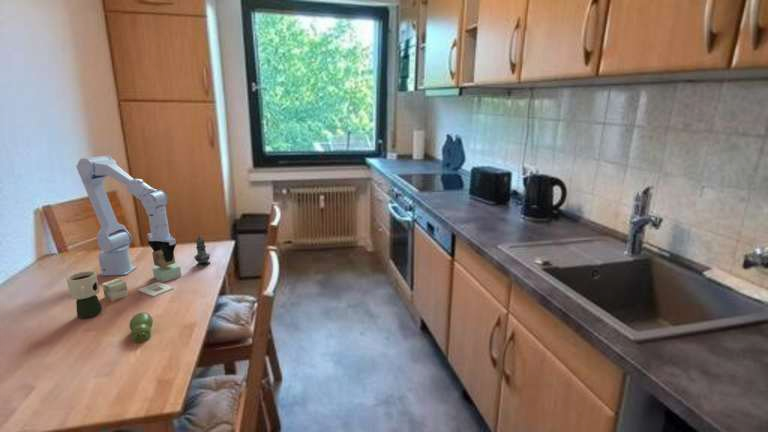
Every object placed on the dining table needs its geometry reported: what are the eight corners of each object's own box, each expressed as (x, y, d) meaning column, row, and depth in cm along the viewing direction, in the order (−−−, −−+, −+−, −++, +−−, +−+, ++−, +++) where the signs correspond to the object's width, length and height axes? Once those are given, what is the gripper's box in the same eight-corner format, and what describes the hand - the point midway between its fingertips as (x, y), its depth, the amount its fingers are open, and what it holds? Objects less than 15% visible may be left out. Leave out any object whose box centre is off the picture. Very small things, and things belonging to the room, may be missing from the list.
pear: (151, 307, 115) (150, 328, 107) (154, 321, 117) (153, 344, 109) (129, 311, 113) (126, 333, 105) (132, 326, 115) (130, 349, 107)
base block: (153, 277, 148) (152, 267, 147) (173, 271, 153) (171, 262, 152) (162, 282, 144) (160, 272, 143) (181, 276, 149) (180, 266, 148)
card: (138, 290, 137) (138, 289, 137) (158, 282, 143) (158, 281, 143) (153, 296, 133) (153, 295, 133) (173, 288, 139) (173, 287, 138)
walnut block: (154, 264, 146) (152, 252, 145) (167, 260, 150) (165, 247, 149) (162, 267, 144) (159, 254, 142) (175, 263, 148) (173, 250, 146)
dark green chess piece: (205, 267, 156) (201, 238, 153) (192, 266, 157) (187, 237, 154) (214, 262, 162) (210, 234, 158) (201, 260, 163) (197, 233, 160)
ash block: (104, 297, 133) (101, 283, 131) (120, 291, 137) (118, 278, 135) (112, 301, 130) (109, 287, 129) (128, 295, 134) (125, 281, 133)
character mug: (104, 318, 119) (95, 279, 116) (74, 325, 116) (64, 285, 112) (104, 304, 128) (96, 266, 125) (77, 310, 124) (67, 272, 121)
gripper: (136, 224, 143) (143, 259, 147) (159, 230, 136) (165, 267, 140) (156, 219, 149) (161, 253, 153) (179, 225, 142) (184, 260, 146)
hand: (164, 259), depth 147 cm, fingers closed on walnut block, 5 cm apart
